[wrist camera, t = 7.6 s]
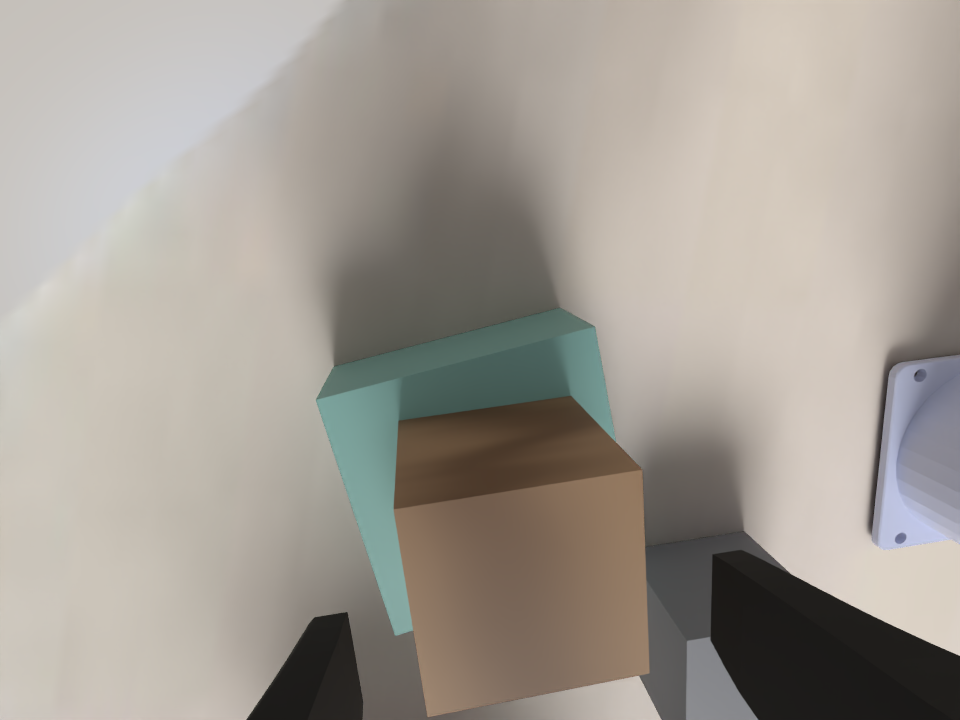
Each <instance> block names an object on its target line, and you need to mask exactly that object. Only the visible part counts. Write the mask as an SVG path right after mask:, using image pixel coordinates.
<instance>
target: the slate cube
mask: <svg viewBox="0 0 960 720" xmlns="http://www.w3.org/2000/svg"><path fill="white" fill-rule="evenodd" d="M736 550H743V551H745V552H748V553H750V554H752V555H754V556H756V557H758V558H760V559H762V560H764V561H766V562H768V563H770V564H772V565H774V566H776V567H778V568H780V569H782V570H784V571H786V572H788V571H787V570H786V569H785V568H784V567H783V566H782V565H780V564H779V563H778V562H777V561H776V560H775V559H774V558H773V557H772V556H771V555H769V554H768V553H767V552H766V551H765V550H764V549H763V548H762V547H761V546H760V545H759V544H757V543H756V542H755V541H754V540H753V539H752V538H751V537H750V536H749V535H748V534H746V533H745V532H737V533H731V534H725V535H718V536H712V537H705V538H699V539H693V540H686V541H680V542H673V543H667V544H661V545H654V546H648V547H645V557H646V586H647V614H648V642H649V670H650V673H649V674H644V675H639V676H640V678H641V680H642V682H643V684H644V686H645V688H646V690H647V692H648V694H649V696H650V698H651V700H652V702H653V704H654V706H655V708H656V710H657V712H658V714H659V715H660V717H661V719H662V720H758V719H757V717H756V716H755V715H754V713H753V712H752V710H751V709H750V707H749V706H748V705H747V703H746V702H745V700H744V699H743V697H742V696H741V694H740V693H739V691H738V690H737V688H736V686H735V684H734V683H733V681H732V679H731V677H730V676H729V674H728V672H727V670H726V669H725V667H724V665H723V663H722V661H721V659H720V657H719V655H718V654H717V652H716V650H715V648H714V646H713V644H712V642H711V640H710V638H711V595H712V554H717V553H723V552H730V551H736ZM788 573H789V572H788ZM789 574H790V573H789Z"/></svg>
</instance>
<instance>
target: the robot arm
mask: <svg viewBox="0 0 960 720" xmlns="http://www.w3.org/2000/svg"><path fill="white" fill-rule="evenodd" d="M916 372H917V374H916V376H915V377H914V375H915V373H916ZM945 540H953V541H955V542H957V543H958V544H960V355H954V356H946V357H938V358H930V359H922V360H914V361H907V362H901V363H898V364H896V365H895V366H894V367H893V368H892V369H891V371H890V373H889V378H888V387H887V396H886V406H885V415H884V425H883V434H882V444H881V453H880V463H879V472H878V481H877V491H876V500H875V510H874V519H873V529H872V542H873V543H874V544H875V545H876V546H878V547H879V548H881V549H883V550H890V549H896V548H903V547H909V546H915V545H921V544H927V543H933V542H939V541H945ZM710 640H711V642H712V644H713V646H714V648H715V650H716V652H717V654H718V655H719V657H720V659H721V661H722V663H723V665H724V667H725V669H726V670H727V672H728V674H729V676H730V677H731V679H732V681H733V683H734V684H735V686H736V688H737V690H738V691H739V693H740V694H741V696H742V697H743V699H744V700H745V702H746V703H747V705H748V706H749V707H750V709H751V710H752V712H753V713H754V715H755V716H756V717H757V719H758V720H960V656H959V655H956V654H954V653H952V652H949V651H947V650H945V649H942V648H940V647H938V646H935V645H933V644H931V643H929V642H927V641H924V640H922V639H920V638H918V637H916V636H914V635H911V634H909V633H907V632H905V631H903V630H901V629H898V628H896V627H894V626H892V625H890V624H888V623H886V622H884V621H882V620H879V619H877V618H875V617H873V616H871V615H869V614H867V613H865V612H863V611H861V610H859V609H857V608H855V607H853V606H851V605H849V604H847V603H845V602H843V601H841V600H839V599H837V598H835V597H834V596H832V595H830V594H828V593H826V592H824V591H822V590H820V589H818V588H816V587H814V586H812V585H810V584H809V583H807V582H805V581H803V580H801V579H799V578H797V577H795V576H793V575H791V574H789V573H788V572H786V571H784V570H782V569H780V568H778V567H776V566H774V565H772V564H770V563H768V562H766V561H764V560H762V559H760V558H758V557H756V556H754V555H752V554H750V553H748V552H745V551H743V550H736V551H730V552H723V553H717V554H712V595H711V638H710ZM362 714H363V699H362V693H361V687H360V681H359V675H358V670H357V664H356V658H355V652H354V647H353V641H352V635H351V629H350V624H349V618H348V612H345V613H339V614H333V615H326V616H320V617H314V619H313V620H312V621H311V622H310V623H309V625H308V626H307V628H306V630H305V631H304V633H303V635H302V636H301V638H300V639H299V641H298V643H297V644H296V646H295V647H294V649H293V651H292V652H291V654H290V655H289V657H288V659H287V660H286V662H285V663H284V665H283V666H282V668H281V669H280V671H279V673H278V674H277V676H276V677H275V679H274V680H273V682H272V683H271V685H270V686H269V688H268V689H267V691H266V692H265V693H264V695H263V696H262V698H261V699H260V701H259V702H258V704H257V705H256V707H255V708H254V710H253V711H252V712H251V714H250V715H249V717H248V718H247V720H362Z"/></svg>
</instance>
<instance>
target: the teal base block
mask: <svg viewBox="0 0 960 720" xmlns="http://www.w3.org/2000/svg"><path fill="white" fill-rule="evenodd" d="M566 396H572V397H573V398H574V399H575V400H576V401H577V402H578V403H579V404H580V405H581V406H582V408H583V409H584V410H585V411H586V412H587V413H588V414H589V415H590V416H591V417H592V418H593V419H594V420H595V421H596V422H597V423H598V424H599V425H600V426H601V427H602V428H603V429H604V430H605V431H606V432H607V433H608V435H609V436H610V437H611V438H612V439H613V440H614V441H615V442H616V439H615V434H614V428H613V423H612V417H611V412H610V407H609V401H608V396H607V390H606V385H605V379H604V374H603V368H602V363H601V357H600V352H599V347H598V341H597V336H596V330H595V326H593V325H591V324H589V323H587V322H585V321H584V320H582V319H580V318H578V317H576V316H574V315H573V314H571V313H569V312H567V311H565V310H563V309H562V308H557V309H553V310H550V311H546V312H542V313H538V314H534V315H530V316H527V317H523V318H519V319H515V320H511V321H507V322H503V323H500V324H496V325H492V326H488V327H484V328H480V329H477V330H473V331H469V332H465V333H461V334H457V335H454V336H450V337H446V338H442V339H438V340H434V341H430V342H427V343H423V344H419V345H415V346H411V347H407V348H404V349H400V350H396V351H392V352H388V353H384V354H380V355H377V356H373V357H369V358H365V359H361V360H357V361H354V362H350V363H346V364H342V365H338V366H334V367H333V369H332V371H331V373H330V375H329V377H328V378H327V380H326V382H325V384H324V386H323V388H322V390H321V391H320V393H319V395H318V397H317V399H316V402H317V405H318V408H319V411H320V414H321V417H322V420H323V423H324V426H325V429H326V432H327V435H328V438H329V441H330V444H331V447H332V450H333V453H334V455H335V458H336V461H337V464H338V467H339V470H340V473H341V476H342V479H343V482H344V485H345V488H346V491H347V494H348V497H349V500H350V503H351V506H352V509H353V512H354V515H355V518H356V521H357V524H358V527H359V530H360V533H361V536H362V539H363V542H364V545H365V548H366V551H367V554H368V557H369V560H370V563H371V565H372V568H373V571H374V574H375V577H376V580H377V583H378V586H379V589H380V592H381V595H382V598H383V601H384V604H385V607H386V610H387V613H388V616H389V619H390V622H391V625H392V628H393V631H394V634H395V636H396V635H400V634H403V633H407V632H410V631H413V626H412V620H411V614H410V608H409V602H408V596H407V589H406V583H405V577H404V571H403V565H402V559H401V553H400V547H399V540H398V534H397V528H396V522H395V516H394V510H393V509H394V491H395V473H396V455H397V438H398V421H399V420H406V419H413V418H420V417H427V416H434V415H441V414H448V413H455V412H462V411H469V410H476V409H483V408H490V407H497V406H504V405H510V404H517V403H524V402H531V401H538V400H545V399H552V398H559V397H566Z"/></svg>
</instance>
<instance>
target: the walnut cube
mask: <svg viewBox="0 0 960 720" xmlns="http://www.w3.org/2000/svg"><path fill="white" fill-rule="evenodd" d="M393 510H394V516H395V522H396V528H397V534H398V540H399V547H400V553H401V559H402V565H403V571H404V577H405V583H406V589H407V596H408V602H409V608H410V614H411V620H412V626H413V632H414V638H415V644H416V651H417V657H418V663H419V669H420V675H421V681H422V687H423V693H424V699H425V706H426V712H427V717H432V716H437V715H442V714H447V713H452V712H457V711H462V710H467V709H472V708H477V707H482V706H487V705H492V704H497V703H502V702H507V701H513V700H518V699H523V698H528V697H533V696H538V695H543V694H548V693H553V692H558V691H563V690H568V689H573V688H578V687H583V686H588V685H593V684H599V683H604V682H609V681H614V680H619V679H624V678H629V677H634V676H639V675H644V674H649V673H650V670H649V642H648V614H647V586H646V557H645V529H644V501H643V473H642V469H641V468H640V467H639V466H638V465H637V464H636V463H635V462H634V461H633V459H632V458H631V457H630V456H629V455H628V454H627V453H626V452H625V451H624V450H623V449H622V448H621V447H620V446H619V445H618V444H617V443H616V442H615V441H614V440H613V439H612V438H611V437H610V436H609V435H608V433H607V432H606V431H605V430H604V429H603V428H602V427H601V426H600V425H599V424H598V423H597V422H596V421H595V420H594V419H593V418H592V417H591V416H590V415H589V414H588V413H587V412H586V411H585V410H584V409H583V408H582V406H581V405H580V404H579V403H578V402H577V401H576V400H575V399H574V398H573V397H572V396H566V397H559V398H552V399H545V400H538V401H531V402H524V403H517V404H510V405H504V406H497V407H490V408H483V409H476V410H469V411H462V412H455V413H448V414H441V415H434V416H427V417H420V418H413V419H406V420H399V421H398V438H397V455H396V473H395V491H394V509H393Z"/></svg>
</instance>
